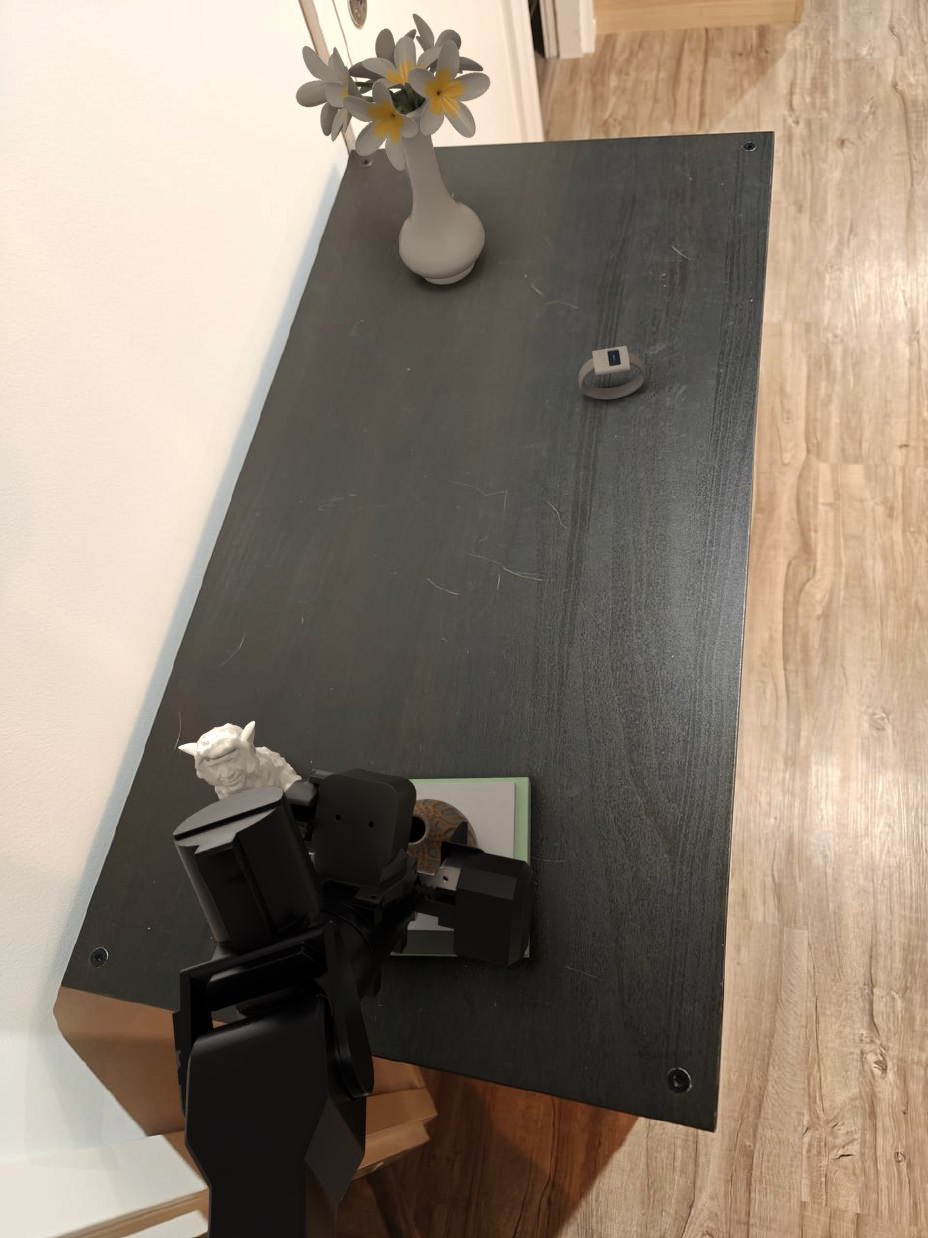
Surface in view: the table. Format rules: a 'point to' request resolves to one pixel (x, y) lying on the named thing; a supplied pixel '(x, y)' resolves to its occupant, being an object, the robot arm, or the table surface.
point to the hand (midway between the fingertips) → (425, 819)
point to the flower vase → (409, 134)
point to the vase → (434, 831)
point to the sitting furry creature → (238, 761)
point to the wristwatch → (611, 363)
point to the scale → (499, 830)
